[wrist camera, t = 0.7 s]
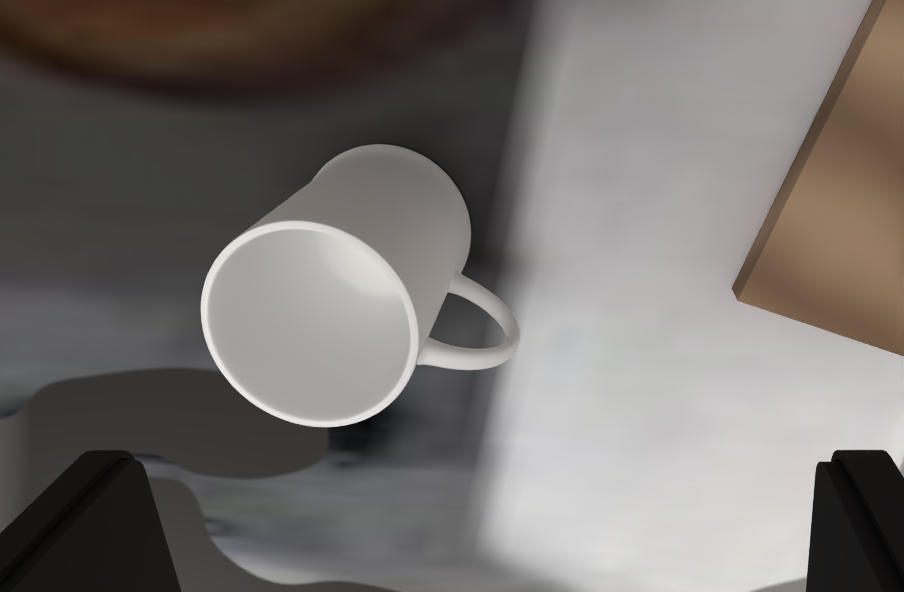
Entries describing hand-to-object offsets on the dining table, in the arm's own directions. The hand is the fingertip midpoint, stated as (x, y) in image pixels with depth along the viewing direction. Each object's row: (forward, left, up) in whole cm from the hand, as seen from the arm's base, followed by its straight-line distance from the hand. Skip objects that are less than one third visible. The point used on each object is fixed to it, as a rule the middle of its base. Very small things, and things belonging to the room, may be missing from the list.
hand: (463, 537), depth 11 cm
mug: (+7, -5, -28) cm, 29 cm away
